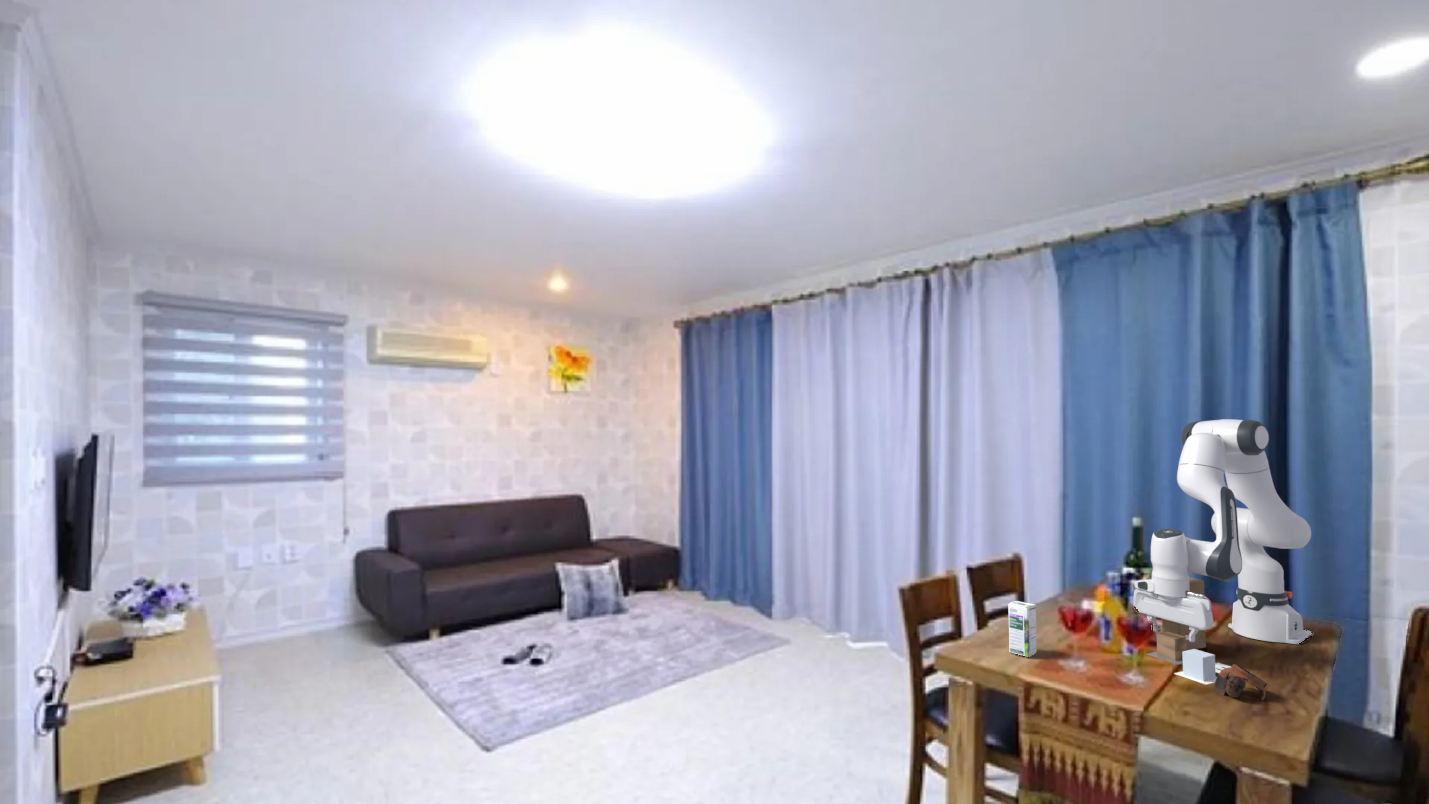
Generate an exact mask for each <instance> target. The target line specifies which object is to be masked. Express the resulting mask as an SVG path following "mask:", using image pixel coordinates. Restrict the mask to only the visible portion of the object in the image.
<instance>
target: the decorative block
mask: <svg viewBox="0 0 1429 804" xmlns="http://www.w3.org/2000/svg"><path fill="white" fill-rule="evenodd" d="M1189 585H1190V592H1194V593H1197V594H1203V595H1205V581H1204V580H1203V579H1198V578H1194V577H1191V576H1189ZM1161 631H1162V632H1161V633H1164V632H1171V633H1174V634H1178V635H1181V636H1185V637H1186V634H1190V632H1191V630H1190V629H1189V626H1188V625H1184V624H1180V623H1177V622H1173V621H1169V620H1166V619H1162V618H1161ZM1186 648H1187V650H1191V649H1197V650H1199V649H1205V648H1207V633H1206V632H1205V631H1203V630H1201V629H1199V631H1198V632H1197V634H1196V635H1195V642H1190V641H1186Z"/></svg>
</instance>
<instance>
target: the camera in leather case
mask: <svg viewBox="0 0 1429 804" xmlns="http://www.w3.org/2000/svg"><path fill="white" fill-rule="evenodd" d="M1216 676H1217V679H1216V681H1215V682H1214V685H1213V688H1212V689H1213V690H1214V691H1215V693H1216V694H1219V695H1220V696H1225V695H1226V694H1227V695H1228V696H1229V697H1231V698H1236V699H1238V698H1239V697H1240V695H1241V693H1242V691H1243V690H1244V689H1245V688H1246V685H1247V683H1248V684H1250V685H1252V686H1254V687H1255V688H1256V689H1258V690H1259V691H1260V692H1261V697H1260V700H1261V701H1264V700H1265V698H1266V696H1267V695H1266V688H1265V687H1266V686H1268V683H1266V682H1265V681H1264V680H1262V678H1260V677H1258V676H1257V675H1255V674H1254V673H1252V672H1251V673H1250V671H1249V670H1247V669H1246V668H1243V667H1242V666H1240V665H1238V664H1235V663H1233V664H1232V666H1231V667H1229V668H1225V669H1223V670H1222V671H1220V673H1217V675H1216ZM1228 678H1229V679H1228ZM1246 682H1247V683H1246Z"/></svg>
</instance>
